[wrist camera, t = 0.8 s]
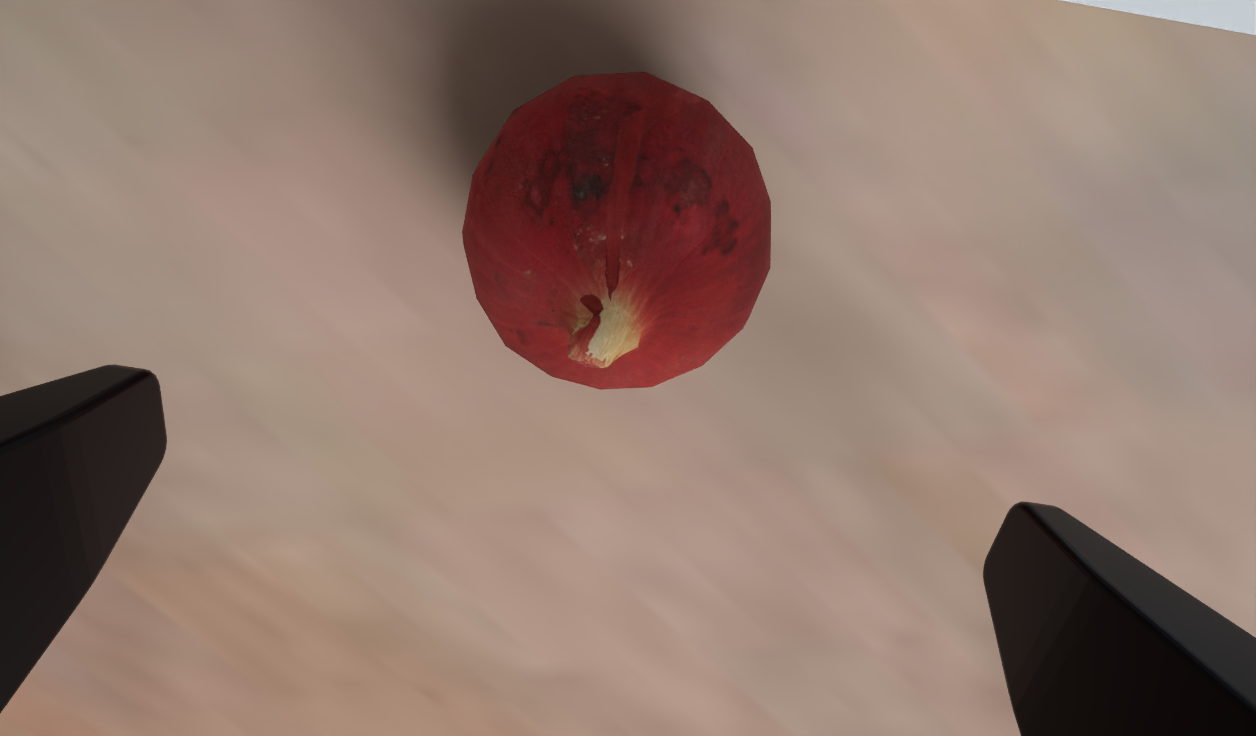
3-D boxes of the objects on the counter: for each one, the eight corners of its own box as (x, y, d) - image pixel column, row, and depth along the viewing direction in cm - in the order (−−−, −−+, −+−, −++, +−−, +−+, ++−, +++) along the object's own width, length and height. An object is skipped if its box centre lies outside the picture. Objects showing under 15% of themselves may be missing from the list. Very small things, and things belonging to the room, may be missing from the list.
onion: (482, 57, 18) (366, 145, 11) (750, 36, 17) (814, 114, 10) (519, 303, 20) (447, 503, 13) (752, 290, 20) (802, 487, 13)
